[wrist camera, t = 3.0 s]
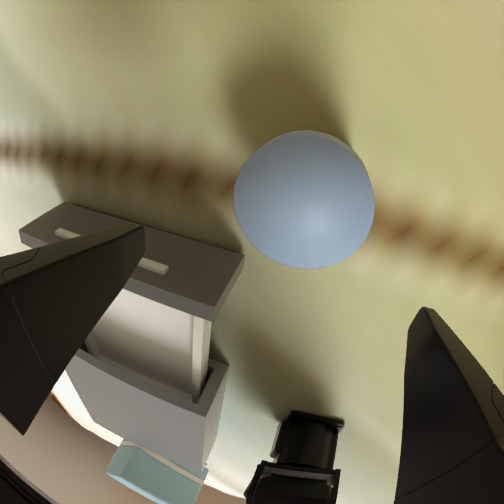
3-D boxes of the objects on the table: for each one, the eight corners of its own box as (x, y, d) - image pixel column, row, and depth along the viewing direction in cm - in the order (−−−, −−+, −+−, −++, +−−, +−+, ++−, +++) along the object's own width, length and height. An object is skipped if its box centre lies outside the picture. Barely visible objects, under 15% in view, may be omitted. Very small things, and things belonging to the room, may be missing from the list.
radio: (128, 426, 50) (83, 501, 34) (149, 425, 46) (100, 512, 29) (185, 464, 54) (151, 535, 37) (211, 466, 49) (175, 546, 33)
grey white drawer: (245, 251, 21) (214, 303, 17) (220, 396, 32) (202, 438, 27) (63, 199, 24) (17, 226, 19) (94, 341, 35) (68, 372, 30)
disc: (386, 151, 13) (393, 160, 11) (349, 262, 16) (348, 283, 15) (256, 117, 14) (244, 121, 12) (237, 231, 17) (225, 248, 16)
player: (229, 364, 29) (205, 417, 24) (216, 437, 40) (201, 472, 34) (85, 305, 32) (52, 340, 26) (113, 392, 42) (94, 421, 37)
